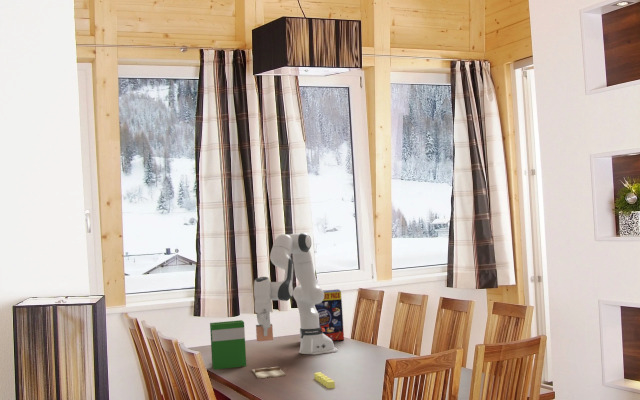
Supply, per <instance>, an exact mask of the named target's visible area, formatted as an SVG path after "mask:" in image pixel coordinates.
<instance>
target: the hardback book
mask: <svg viewBox="0 0 640 400" xmlns="http://www.w3.org/2000/svg"><path fill="white" fill-rule="evenodd" d="M209 327H210V328H209V330H210V345H211V349H210V350H211V365H212V366H211V367H212V368H213V370H222V369H223V370H224V369H230V368H231V369H232V368H242V367H241V366H243V367H247V352H246V349H247V348H246V332H245V331H246V330H245V321H244V320H243V319H239V320H230V321H217V322H210V323H209Z"/></svg>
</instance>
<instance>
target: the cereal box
mask: <svg viewBox="0 0 640 400" xmlns="http://www.w3.org/2000/svg"><path fill="white" fill-rule="evenodd" d="M322 290H323V289H322ZM323 292H324V299H323V301H322V302H321V303H319V304H315V307H316V310H317V312H318V313H319V326H320V327H321V328H324V329H325V332H323V334H325V335H326V336H328V337H329V338H330V339H332V341H333V342H338V341H344V340H345V334H344V332H345V331H344V318H343V317H344V314H343V301H342V292H341V290H340V289H338V288H337V289H328V290H327V289H325V290H323Z"/></svg>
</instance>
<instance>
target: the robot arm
mask: <svg viewBox="0 0 640 400" xmlns="http://www.w3.org/2000/svg"><path fill="white" fill-rule="evenodd" d="M311 247H312V239H311V237H310V235H309V234H308V233H306V232H300V233H290V234H285V233H283V234H279V235H278V236H277V237H276V238H275V240H274V242H273V244H272V248H271V251H270V254H269V255H270V256H269V259H270V261H271V264H272V265H274V266H275V267H277V268H279V269H281V270H284V278H283V280H282V281H270V279H269V277H267V276H259V277H257V278H255V279H254V282H253V296H254V313H256V318H257V319H256V320H257V325H261V326H262V327H263V330H264V332H263V333H264V336H267V331H268V328H270V324H271V317H270V313H271V312H272V311H273V310H272V309H273V307H272V301H284V302H288V301H289V300H290V299H291V298H292V297H293V298H294V300H295V302H296V305H297V309H298V313H299V322H300V328H299V337H300V347H299V351H298V352H299V354H303V355H321V354H322V355H323V354H328V353H335V352H338V351H339V349H338V348H337V347H335V345H334V341H332V339H330V338H329V337H328V336H326V335H325V334H323V332H325V329H324V328H321V327H320V326H319V313H318V312H317V310H316V307H315V304H319V303H321V302H322V301H323V299H324V292H323V289H322V288H321V286H320V284H319V281H318V280H317V277H316V274H315V269H314V263H313V259H312V254H311V251H310V249H311ZM291 255H292V258H291ZM294 275H295V278H296V279H297V281H298V282H299V285H296V287H294Z"/></svg>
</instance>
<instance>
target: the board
mask: <svg viewBox="0 0 640 400" xmlns="http://www.w3.org/2000/svg"><path fill="white" fill-rule="evenodd" d="M251 371H252V373H253V374H254V376H255V377H256V378H257V379H258V378H259V379H266V378H267V377H268V378H278V377H285V376H286V373H285V372H284V371H283V370H282V369H281V367H280V366H274V367H273V366H272V367H262V368H261V367H260V368H252V370H251ZM268 378H267V379H268Z"/></svg>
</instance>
